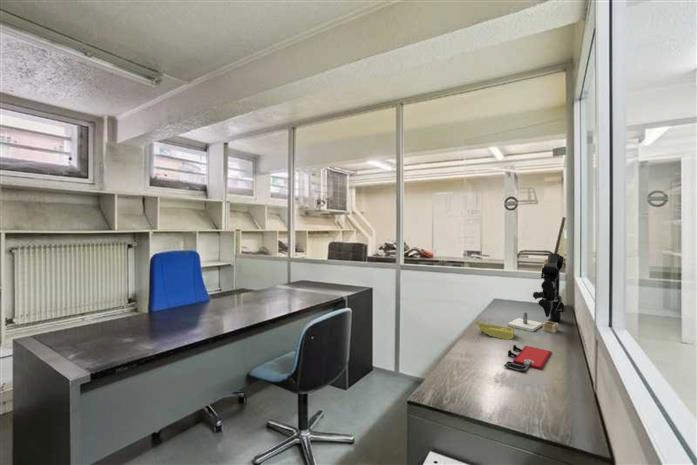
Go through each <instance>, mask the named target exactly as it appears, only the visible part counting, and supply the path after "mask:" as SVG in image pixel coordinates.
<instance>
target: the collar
mask: <svg viewBox="0 0 697 465" xmlns="http://www.w3.org/2000/svg"><path fill="white" fill-rule="evenodd" d="M542 323H543V326H542V331H544V332H547V333H548V332H549V333H556V332H558V331H559V322H554V321H549V320H545V321H544V322H542Z"/></svg>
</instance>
